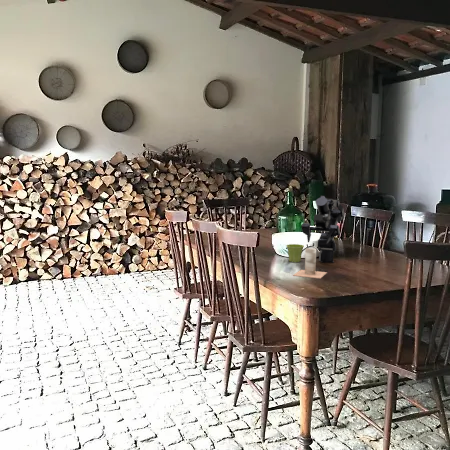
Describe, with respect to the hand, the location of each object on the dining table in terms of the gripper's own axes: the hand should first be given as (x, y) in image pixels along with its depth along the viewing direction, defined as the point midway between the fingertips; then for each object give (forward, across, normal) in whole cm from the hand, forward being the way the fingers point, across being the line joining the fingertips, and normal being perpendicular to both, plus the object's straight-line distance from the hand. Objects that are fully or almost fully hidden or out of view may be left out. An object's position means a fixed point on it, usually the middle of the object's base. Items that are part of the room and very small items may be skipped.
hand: (317, 242), depth 242 cm
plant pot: (-1, -16, +20) cm, 26 cm away
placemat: (+18, 0, +1) cm, 18 cm away
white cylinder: (+18, 0, +1) cm, 18 cm away
